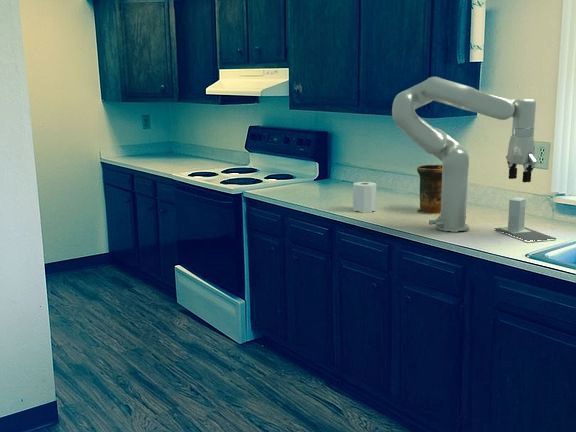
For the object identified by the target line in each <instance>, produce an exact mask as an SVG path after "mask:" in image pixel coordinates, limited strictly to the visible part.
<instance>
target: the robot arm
mask: <svg viewBox="0 0 576 432" xmlns="http://www.w3.org/2000/svg"><path fill="white" fill-rule="evenodd" d="M433 101H434V102H437V103H441V104H444V105H447V106H452V107H454V108H456V109H461V110H464V111H469V112H472V113H476V114H479V115H483V116H486V117H491V118H493V119H497V120H500V121H506V120H509V119H510V118H512V126H511V127H512V129H511V136H510V138H509V142H508V147H507V155H506V156H505V158H506V159H505V160H507V161H506V162H507V163H506V164H507V166H508V179H509V180H513V179H517V178H518V168H517V166H518V165H521V166H523V170H524V171H522V181H521V182H522V183H531V181H532V172H533V171H534V168H535V166H536V165H537V162H538V161H537V160H536V158H535V140H534V135H535V121H536V109H537V101H536V100H535V99H533V98H517V99H516V98H515V99H514V98H506V97H500V96H496V95H493V94H489V93H486V92H483V91H481V90H478V89H476V88H475V87H472V86H469V85H466V84H462V83H459V82H455V81H451V80H447V79H445V78H442V77H439V76H430V77H428V78H427V79H425V80H423V81H422V82H420V83H418V84H415V85H414V86H411V87H409V88H407V89H405V90H403V91H401V92H399V93H397V94H396V95H395V97H394V99H393V102H392V109H391V115H392V120H393V121H394V123H395V125H396V126H397V128H398V129H399V130H400V131H401V133H403V134H405V135H406V136H407V137H408V138H409V139H411V141H412V142H414V143H415V144H416V145H417V146H419V147H420V148H421V149H422V150H423V151H425V152H426V153H428V154H430V155H433V156H434V157H435V158H437V159H438V160H440V161H441V162H442V164H441V165H442V192H441V214H440V215H439V216H437V218H436V219H429V220H428V225H429V226H432V225H435V228H436V230H439V229H440V230H439V231H442V230H443V232H447V231H451V232H450V233H459V232H458V231H464V232H467V231H469V230H470V225H469V224H466V221H467V220H466V219H467V218H466V217H467V201H468V199H467V198H468V182H469V181H468V179H469V178H468V177H469V167H470V156H469V152H468V151H467V149H466V148H465V147H464V146H463V145H461V144H460V143H459V142H458V141H456V140H455V138H453V137H451V136H450V135H448V133H446V132H445V131H444V130H442V129H440V128H438V127H433V126H432V125H431V124H430V123H428V122H427V121H426V120H424V119H423V118H422V117H421V116H419V115H418V114H417V112H416V110H417V109H418V108H421V107H423V106H425V105H427V104H430V103H432V102H433Z"/></svg>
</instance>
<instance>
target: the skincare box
mask: <svg viewBox="0 0 576 432" xmlns="http://www.w3.org/2000/svg"><path fill="white" fill-rule="evenodd" d="M526 203H527V199H526V198H525V197H516V196H515V197H513V198H510V199H509V203H508V205H509V206H508V217H507V219H508V220H507V227H508V231H515V232H519V231H521V230H522V229H524V227H525V218H526V205H527V204H526Z"/></svg>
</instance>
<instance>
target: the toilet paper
mask: <svg viewBox="0 0 576 432" xmlns="http://www.w3.org/2000/svg"><path fill="white" fill-rule="evenodd" d="M352 186H353V187H352V189H353V190H352V191H353V192H352V195H353V196H352V211H353V210H355V211H360V212H359V213H361V212H370V213H373V212H372V211H375V212H376V211H377V182H374V181H373V182H372V181H357V182H353V184H352ZM355 211H354V212H355Z"/></svg>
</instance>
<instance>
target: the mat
mask: <svg viewBox="0 0 576 432" xmlns="http://www.w3.org/2000/svg"><path fill="white" fill-rule="evenodd" d="M494 229H496V230H498V231H501V232H504V233H507V234H510V235H512V236H515V237H518V238H521V239H523V240H527V241H530V240H533V241H534V240H535V241H537V240H547V239H556V240H557V238H556V237H554V236H552V235H551V236H550V235H547V234H545V233H542V232H539V231H537V230H533V229H532V228H529V227H525V226H524V229H522V230H521V231H519V232H515V231H508V226H505V227H495V228H494ZM496 230H495V231H496ZM498 231H497V232H498ZM501 232H500V233H501ZM504 233H503V234H504Z"/></svg>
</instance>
